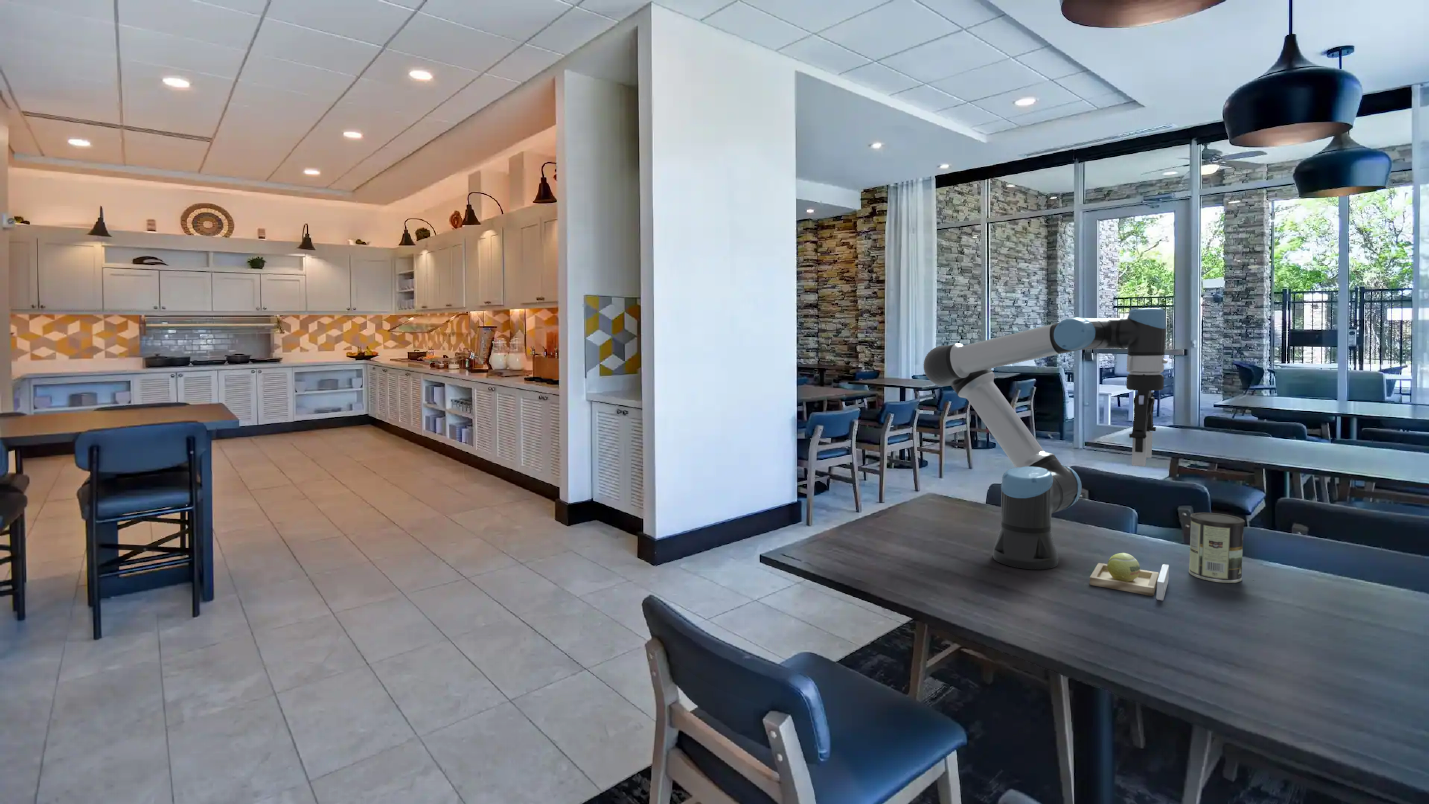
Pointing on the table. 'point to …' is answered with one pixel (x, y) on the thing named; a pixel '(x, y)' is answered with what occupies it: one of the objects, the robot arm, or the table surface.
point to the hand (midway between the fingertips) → (1141, 461)
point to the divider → (1162, 582)
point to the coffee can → (1216, 547)
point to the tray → (1139, 585)
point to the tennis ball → (1123, 567)
